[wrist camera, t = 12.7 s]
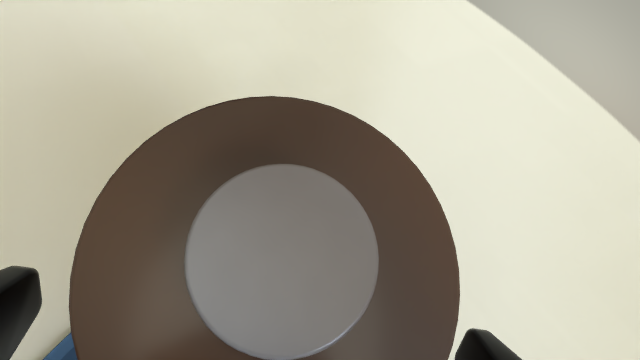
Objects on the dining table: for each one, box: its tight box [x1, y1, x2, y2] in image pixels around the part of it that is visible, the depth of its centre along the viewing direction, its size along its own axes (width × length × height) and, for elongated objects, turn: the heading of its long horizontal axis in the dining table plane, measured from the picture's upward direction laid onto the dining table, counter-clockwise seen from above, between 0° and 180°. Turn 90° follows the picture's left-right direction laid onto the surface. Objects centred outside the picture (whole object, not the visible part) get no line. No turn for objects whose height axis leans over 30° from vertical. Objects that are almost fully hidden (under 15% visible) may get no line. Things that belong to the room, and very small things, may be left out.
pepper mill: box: [69, 96, 460, 360], centre depth 10 cm, size 5×5×12 cm
